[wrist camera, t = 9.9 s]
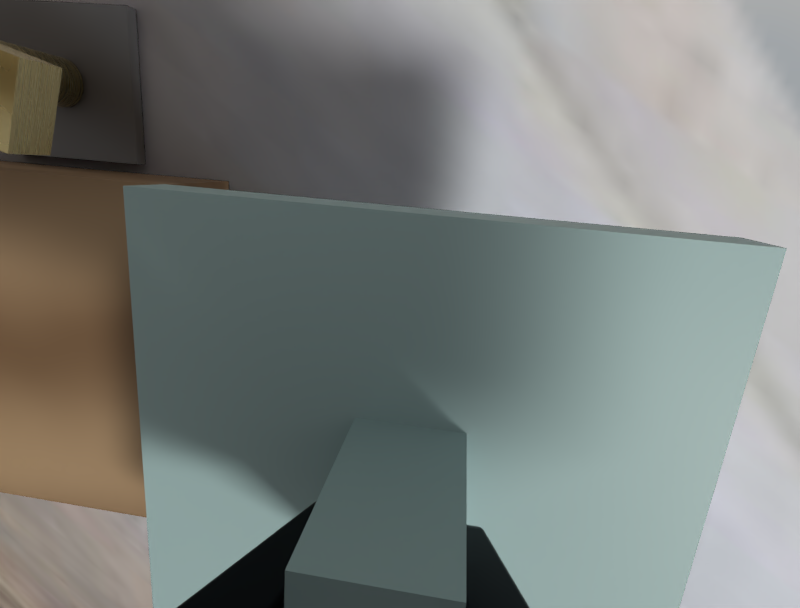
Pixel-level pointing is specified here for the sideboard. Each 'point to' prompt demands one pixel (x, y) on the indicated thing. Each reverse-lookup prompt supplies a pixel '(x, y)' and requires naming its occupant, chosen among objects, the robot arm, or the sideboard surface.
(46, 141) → the key
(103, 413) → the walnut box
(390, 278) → the lid
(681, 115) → the sideboard surface
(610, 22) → the sideboard surface
